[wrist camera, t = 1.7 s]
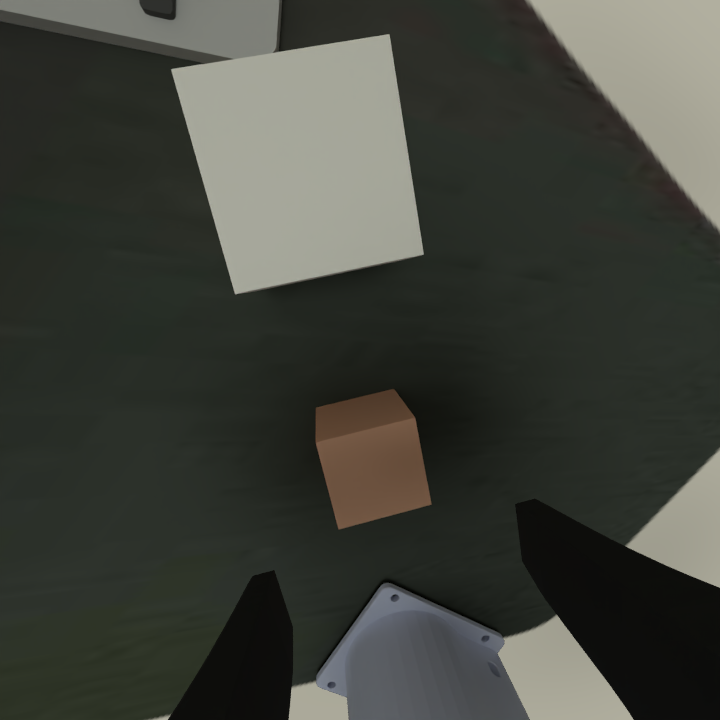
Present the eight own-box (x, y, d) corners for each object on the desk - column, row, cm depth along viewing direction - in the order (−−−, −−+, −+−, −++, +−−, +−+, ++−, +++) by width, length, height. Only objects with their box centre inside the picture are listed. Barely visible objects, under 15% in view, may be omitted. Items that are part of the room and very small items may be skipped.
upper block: (371, 94, 13) (389, 34, 10) (400, 260, 14) (423, 254, 11) (207, 122, 12) (171, 69, 9) (253, 291, 14) (235, 294, 11)
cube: (393, 388, 19) (415, 417, 15) (407, 458, 20) (431, 504, 16) (315, 407, 18) (315, 442, 14) (333, 477, 19) (338, 529, 15)
